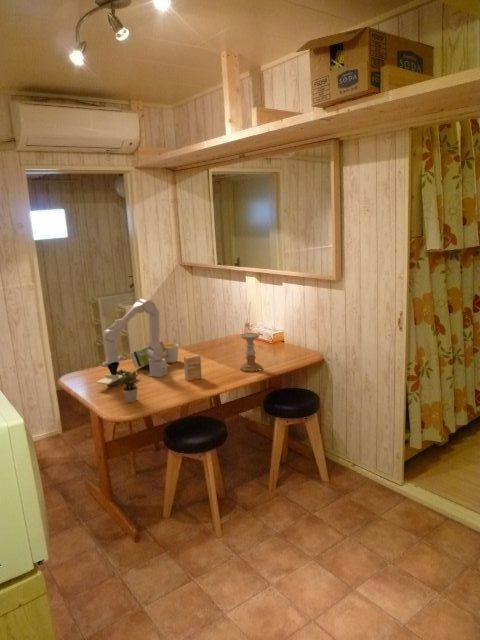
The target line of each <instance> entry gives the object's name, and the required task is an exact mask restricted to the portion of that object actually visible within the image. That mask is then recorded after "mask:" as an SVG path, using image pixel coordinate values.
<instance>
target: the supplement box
mask: <svg viewBox="0 0 480 640" xmlns="http://www.w3.org/2000/svg"><path fill="white" fill-rule="evenodd" d="M201 357H202V356H201V355H199V353H197V354H193V355H192V354H191V355H186V356H183V363H184V364H183V366H184V368H183V369H184V379H185V380H186V381H187V382H190V381H195V379H196V380H199V378H201V379H202V377H203V375H202V359H201Z"/></svg>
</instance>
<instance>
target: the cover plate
mask: <svg viewBox="0 0 480 640" xmlns="http://www.w3.org/2000/svg"><path fill="white" fill-rule="evenodd" d="M115 376H118V377H115ZM122 377H123V376H122V375H112V374H111V373H105V377H104V378H101V379H99V380H97V381H96V383H97V384H100V385H106V386H108V385H109V384H111V383H113V382H115V381H117V380H119V379H120V378H122ZM109 386H110V385H109Z"/></svg>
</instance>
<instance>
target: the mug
mask: <svg viewBox="0 0 480 640" xmlns="http://www.w3.org/2000/svg"><path fill="white" fill-rule="evenodd" d="M163 344H164V343H163ZM164 347H165V350H166V352H167V355H168V357H165V358H164V360H165V361H166V363H168V364H172V363H176V362H177V361H178V359H179V350H180V348H179V347H180V346H179V344H178V343H174V342H173V343H171V342H170V343H165V344H164Z"/></svg>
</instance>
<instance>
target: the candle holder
mask: <svg viewBox="0 0 480 640" xmlns="http://www.w3.org/2000/svg"><path fill="white" fill-rule="evenodd" d="M240 337H241V339H244V340H246V344H245V346H246V351H245V355H246V356H245V360H246V362H244V363H243V364H242V365H240V368H241V369H242V370H245V371H256V370H259V369H261V368H262V367H263V366H262V365H261V364H259V363H257V362H256V361H255V360H256V357H257V356H256V351H255V346H256V344H255V343H254V341H255V339H256V340H257V339H258V338H259V337H260V334H259V333H256V332H246V333H242V334H241V335H240ZM241 369H240V370H241ZM242 370H241V371H242ZM261 370H262V369H261ZM245 371H244V372H245ZM259 371H260V370H259ZM256 372H257V371H256Z"/></svg>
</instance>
